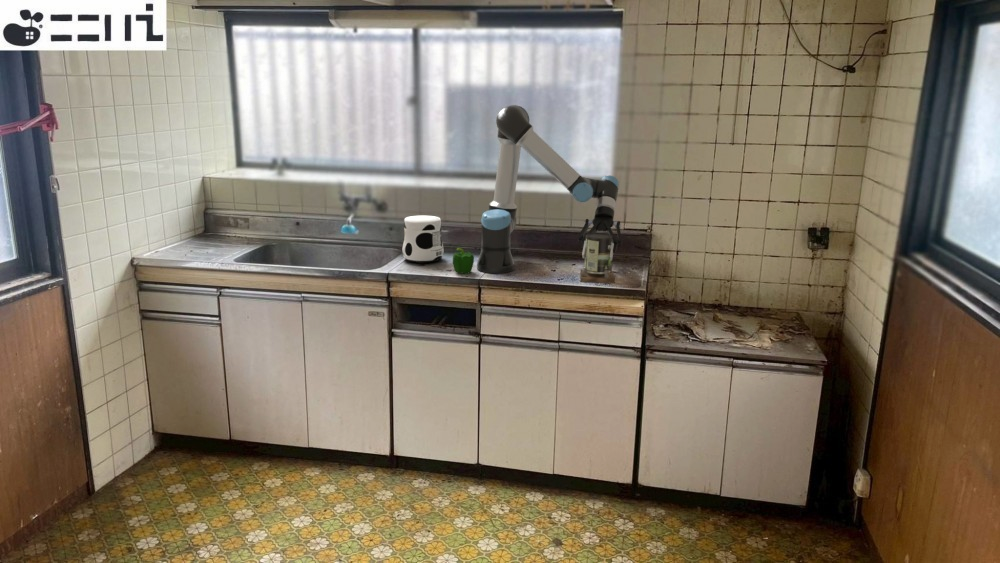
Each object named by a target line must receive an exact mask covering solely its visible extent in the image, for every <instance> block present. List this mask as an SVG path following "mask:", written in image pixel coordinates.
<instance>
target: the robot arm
mask: <svg viewBox="0 0 1000 563" xmlns="http://www.w3.org/2000/svg"><path fill="white" fill-rule="evenodd" d="M495 121H496V122H495V123H496V127H497V129H498V130H497V140H498V141H499V142H500V144H499V152H498V159H497V161H498V162H497V166H496V167H497V169H496V177H495V185H494V186H495V187H494V193H493V194H494V195H493V200H492V201H491V202H489V203H488V205H489V206H488V210H486V211H484V212H483V213H482V215H481V220H480V222H481V249H480V254H479V256H478V260H477V263H476V269H477V270H478V271H479V272H481V273H482V272H483V273H487V274H504V273H505V274H506V273H510V272H513V271H514V270H515V263H514V260H513V259H514V258H513V256H512V253H511V233H512V232H513V231H514V230H515V228H516V226H517V209H518V206H517V204H515V196H516V188H517V181H518V175H519V174H518V173H519V165H520V159H521V158H520V157H521V150H522V149H523V150H524V151H525V152H527V154H529V155H530V156H531V157H532V158H533V159H534V160H535V161H536V162H537V163H538V164H540V166H541V167H543V168H544V170H546V171H547V172H548V173H549V174H550V175H551V176H552V177H553V178H554V179H556V180H557V181H558V182H559V184H561V185H562V186H563V187H564V188H565V189H566V190H567V191H568V192H569V194H571V195H572V196H573V199H575V200H576V201H577V202H579V203H586V202H588V201H590V199H591V198H593V199H597V202H596V206H595V212H594V217H593V219H592V220H591V219H589V218H586V219H585V220H584V221H585V223H584V225H583V227H582V229H581V231H580V232H579V235H578V236H577V241H578V243H581V244H580V250H581V251H582V253H581V256H582V259H584V260H585V248H586V235H587V234H591V233H597V232H607V234H609V235H612V236H613V237H612V245H611V251H610V261H611V262H612V261H613V255H614V253H615V254H616V252H617V249H618V246H623V238H622V233H621V221H620V220H618V221H614V217H615V211H616V204H617V199H618V193H619V188H620V187H619V186H620V184H619V183H620V181H619V179H618V178H617V177H616V176H613V175H604V176H603V177H601V179H600V180H599V179H594V178H588V177H585V176H582V175H581V174H579V173H578V172H577V170H575V168H573V167H572V166H571V165H570V164H569V163H568V162H567V161H566V160H565V159H564V158H563V157H562V156H560V154H559V153H557V151H555V150H554V149H553V147H551V146H550V145H549V144H548V143H547V142H546V141H545V140H544V139H543V138H542V137H540V136H539V135H538V134H537V133H536V132H535V131H534V126H533V125H532V124H531V123H530V122H531V121H530V116H529V113H528V111H527V110H526V109H525V108H524V107H522V106H520V105H518V104H517V105H516V104H511V105H508V106H505V107H502V109H501V110H500V111H499V112H498V114H497V116H496V120H495ZM592 225H593V226H592ZM590 226H592V227H591V228H590ZM613 226H614V228H615V229H616V234H617V239H616V236H615V234H614V233H613V230H612V227H613ZM589 228H590V229H589ZM588 230H589V231H588Z"/></svg>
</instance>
